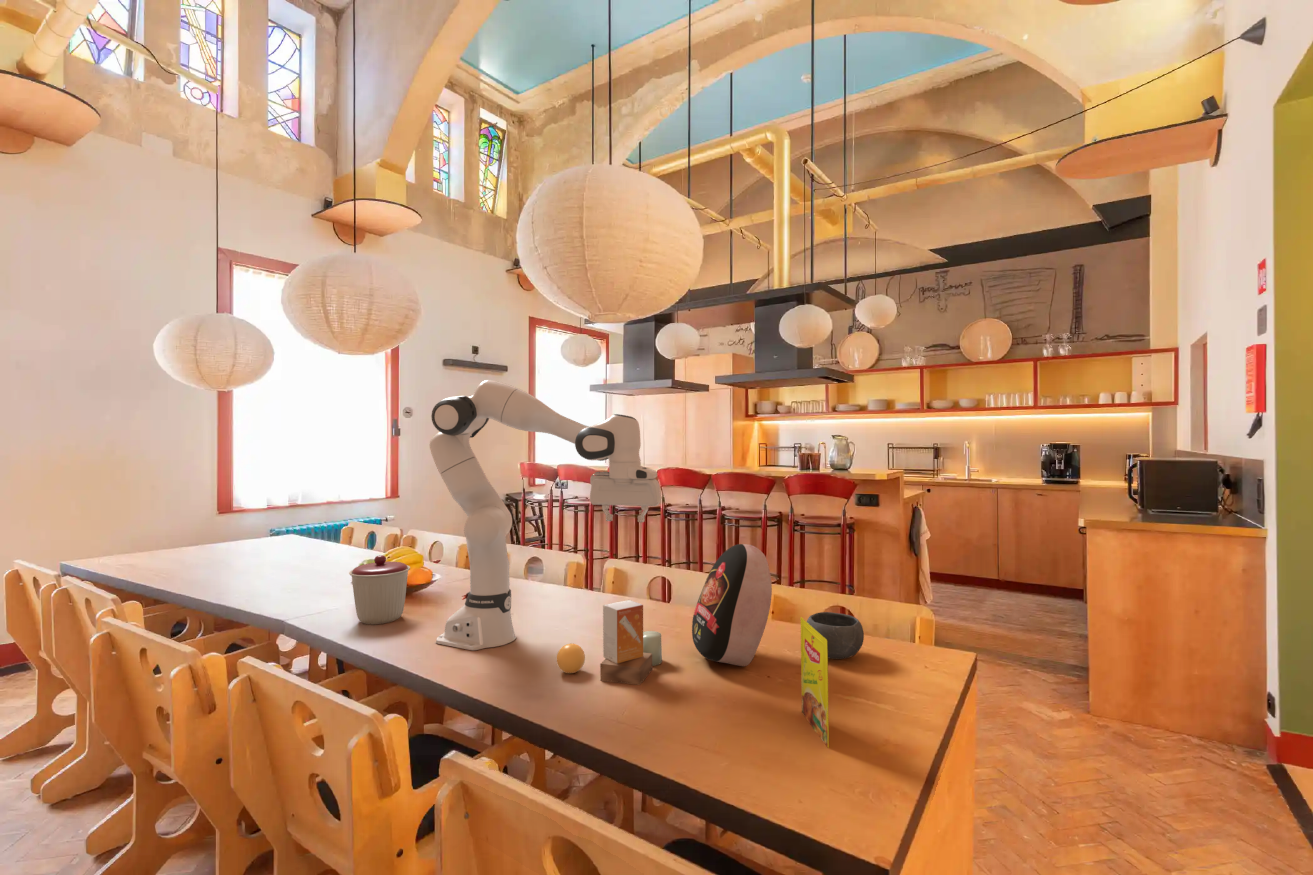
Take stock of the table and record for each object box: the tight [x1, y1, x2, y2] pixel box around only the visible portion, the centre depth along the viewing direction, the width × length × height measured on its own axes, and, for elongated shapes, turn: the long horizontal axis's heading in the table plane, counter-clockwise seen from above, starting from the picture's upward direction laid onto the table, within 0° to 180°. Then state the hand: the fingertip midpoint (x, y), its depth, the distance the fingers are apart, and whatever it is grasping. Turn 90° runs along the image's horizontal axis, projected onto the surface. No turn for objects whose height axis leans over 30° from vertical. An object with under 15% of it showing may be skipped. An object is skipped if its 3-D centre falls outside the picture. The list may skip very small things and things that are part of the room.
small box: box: [602, 599, 644, 664], centre depth 150 cm, size 8×6×13 cm
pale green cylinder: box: [643, 630, 663, 667], centre depth 157 cm, size 6×6×7 cm
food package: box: [800, 616, 830, 749], centre depth 120 cm, size 15×1×20 cm, turn 5°
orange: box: [556, 642, 586, 674], centre depth 151 cm, size 7×7×7 cm
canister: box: [348, 554, 411, 625], centre depth 198 cm, size 18×18×21 cm
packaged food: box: [691, 543, 773, 667], centre depth 159 cm, size 22×20×30 cm
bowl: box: [806, 611, 865, 660], centre depth 160 cm, size 15×15×10 cm
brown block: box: [599, 653, 653, 686], centre depth 149 cm, size 10×10×4 cm
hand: (625, 521), depth 170 cm, fingers open, 8 cm apart
